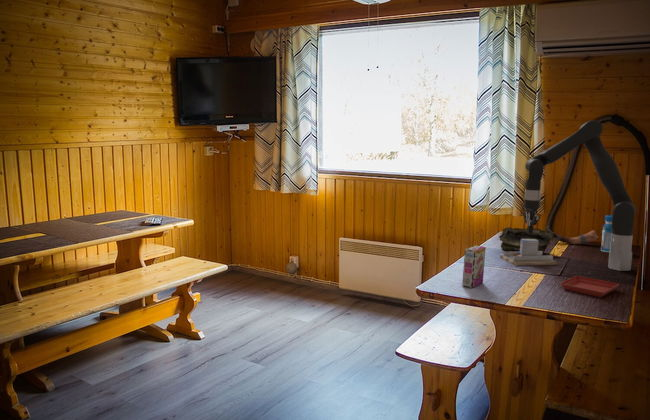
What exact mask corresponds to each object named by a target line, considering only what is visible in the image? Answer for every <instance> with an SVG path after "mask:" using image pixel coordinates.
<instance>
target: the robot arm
mask: <svg viewBox="0 0 650 420" xmlns="http://www.w3.org/2000/svg"><path fill="white" fill-rule="evenodd" d="M603 131H604V128H603V124H602V123H601V122H600V121H598V120H594V119H593V120H592V119H591V120H588V121H586V122H585V123H583V124H582V125H581V126H580V127H579V129H578V130H577V131H575V132H574V133H572V134H571V135H569V136H568V137H566V138H565V139H562V140H561V141H559V142H557V143H555V144H554V145H552V146H551V147H549V148H547V149H546V150H545V151H543V152H541V153H539V154H537V155H535V156H533V157H531V158H530V159H528V160H527V161H526V162H525V170H526V171H527V172H528V177H527V179H525V180H526V181H525V189H524V190H525V191H524V199H523V200H524V201H523V208H524V209H525V211H524V212H523V213H522V216H523V219H524V222H525V224H526V225H527V228H528V230H527V232H528V233H533V228H534V226H536V225H537V224H538V222H539V221H540V218H541V216H539V215H538V209H539V210H540V208H541V186H542V185H541V184H542V183H541V182H542V179H543V174H544V167H546V166H547V165H550V164H553V163H555V162H557V161H558V160H560V159H561V158H563V157H564V156H566V155H568V153H570V152H571V151H573V150H574V149H576V148H577V147H579V146H580V145H582V144H584V146H585V148H586V149H587V152H588V154H589V156H590V159H591V161H592V163H593V166H594V169H595V172H596V173H597V177H598V179H599V180H600V182H601V184H602V185H603V187H604V189H606V191H607V192H608V194H609V197H610V198H611V201H612V205H613V208H612V214H611V215H612V233H611V242H610V252H609V254H608V265H607V267H608V268H609V269H611V270H614V271H619V272H622V271H627V272H628V271H631V267H632V261H633V251H632V245H633V238H634V237H633V235H634V221H635V215H636V212H637V209H636V205H635V204H634V203H633V201H632V199H631V197H630V195H629V194H628V191H627V190H626V187H625V184H624V180H623V178H622V175H621V173H620V170H619V168H618V165H617V163H616V161H615V160H614V158H613V157H612V155H611V154H610V153H609V152H608V150H607V149H606V147H605V146H604V144H603V142H602V139H601V135H602V133H603Z"/></svg>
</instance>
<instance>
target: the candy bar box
mask: <svg viewBox="0 0 650 420" xmlns="http://www.w3.org/2000/svg"><path fill="white" fill-rule="evenodd" d="M463 258H464V259H463V270H462V271H463V272H462V285H461V286H462V287H465V288H469V289H473V288H476V287H478V286H480V285H481V284H483V283H484V274H485V273H484V272H485V260H486V259H485V258H486V246H480V245H474V246H470V247H468V248H465V249H464V257H463Z"/></svg>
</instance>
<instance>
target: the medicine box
mask: <svg viewBox="0 0 650 420" xmlns="http://www.w3.org/2000/svg"><path fill="white" fill-rule="evenodd" d="M538 243H539V241H538V240H536V239H521V242H520V249H519V251H520V256H538Z"/></svg>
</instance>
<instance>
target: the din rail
mask: <svg viewBox="0 0 650 420" xmlns="http://www.w3.org/2000/svg"><path fill="white" fill-rule="evenodd" d="M542 252H543V251H538V256H516V255H520V250H517V251H516V250H515V251H512V250H510V251H503V255H504V257H506V258H508V259H510V260H512V261H552V260H553V258H554V256H553V255H548V254H547V255H545V254H543V253H544V252H543V253H542Z"/></svg>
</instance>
